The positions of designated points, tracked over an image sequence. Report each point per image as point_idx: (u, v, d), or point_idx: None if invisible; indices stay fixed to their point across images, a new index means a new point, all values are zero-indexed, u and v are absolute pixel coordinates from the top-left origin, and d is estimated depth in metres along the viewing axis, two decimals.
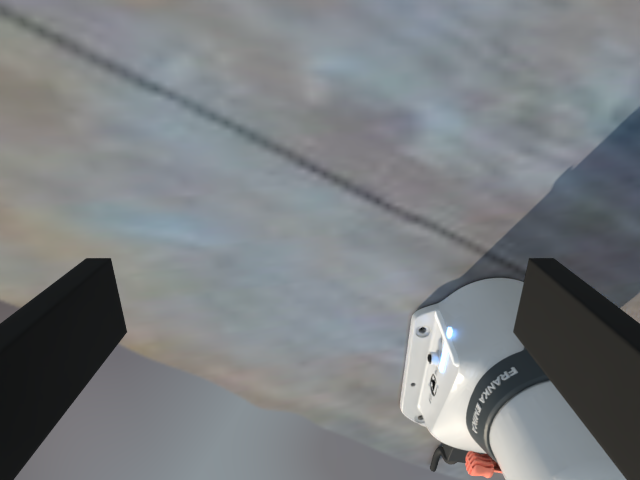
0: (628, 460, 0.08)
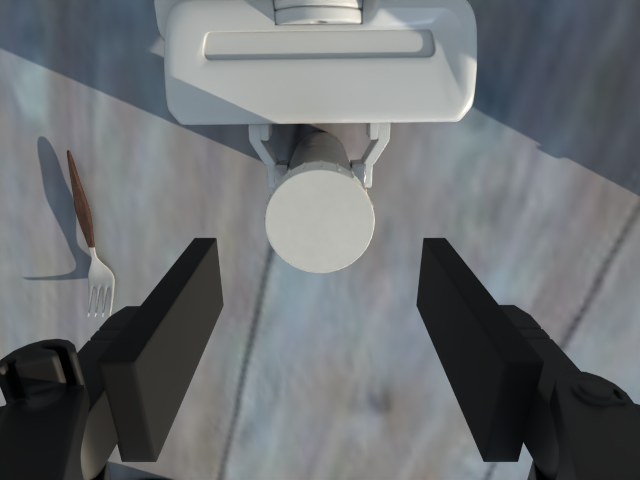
0: (464, 399, 0.10)
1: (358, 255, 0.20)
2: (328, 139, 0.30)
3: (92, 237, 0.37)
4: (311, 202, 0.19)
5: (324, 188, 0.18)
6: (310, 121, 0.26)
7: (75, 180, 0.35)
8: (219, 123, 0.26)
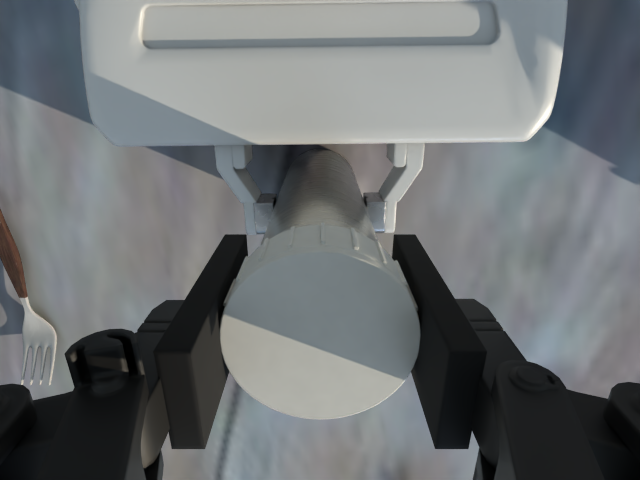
0: (422, 390, 0.10)
1: (389, 393, 0.11)
2: (332, 163, 0.22)
3: (23, 285, 0.28)
4: (304, 308, 0.10)
5: (328, 285, 0.10)
6: (306, 141, 0.17)
7: None
8: (170, 144, 0.18)
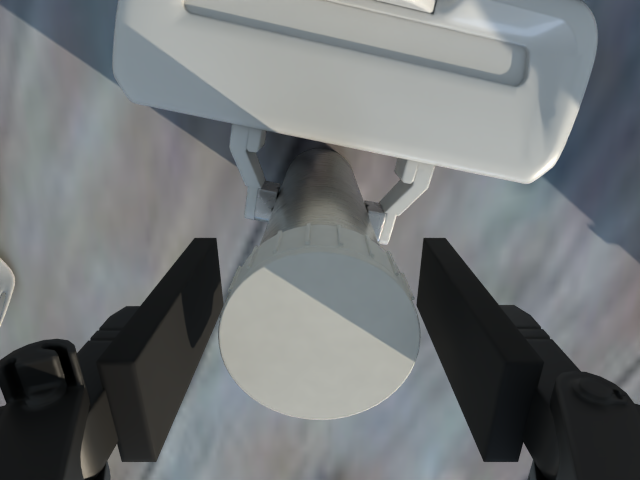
0: (465, 399, 0.10)
1: (413, 314, 0.10)
2: (339, 165, 0.22)
3: None
4: (275, 338, 0.10)
5: (262, 311, 0.10)
6: (324, 139, 0.18)
7: None
8: (188, 113, 0.17)
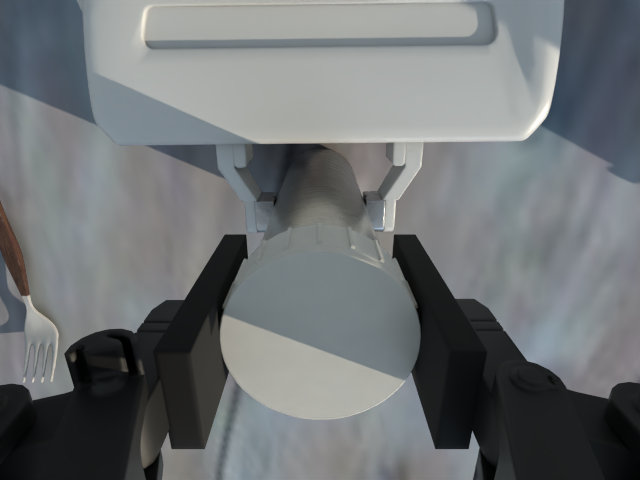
0: (423, 390, 0.10)
1: (405, 297, 0.10)
2: (332, 162, 0.22)
3: (25, 283, 0.29)
4: (276, 346, 0.10)
5: (256, 321, 0.10)
6: (306, 140, 0.18)
7: None
8: (172, 143, 0.18)
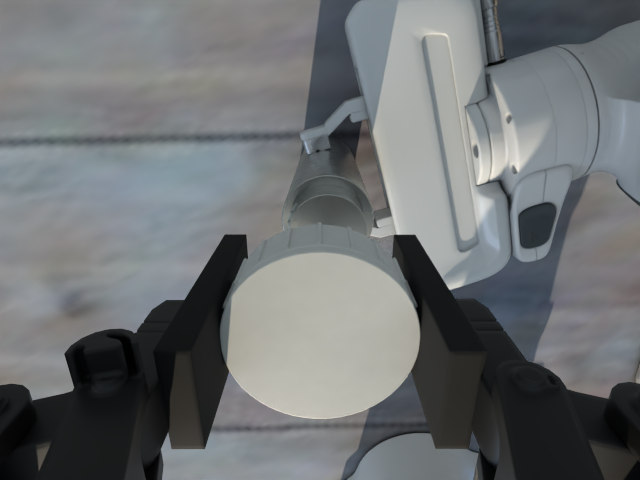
0: (423, 390, 0.10)
1: (405, 296, 0.10)
2: None
3: None
4: (276, 345, 0.10)
5: (256, 320, 0.10)
6: (382, 162, 0.26)
7: None
8: (358, 66, 0.24)
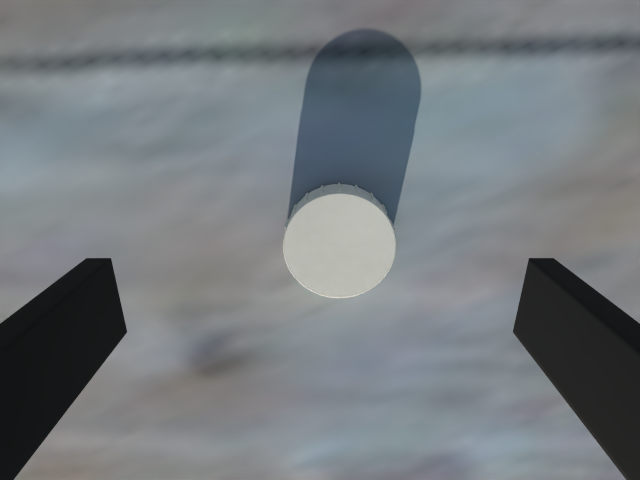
0: (628, 460, 0.08)
1: (386, 220, 0.18)
2: None
3: None
4: (314, 249, 0.18)
5: (304, 234, 0.18)
6: None
7: None
8: None
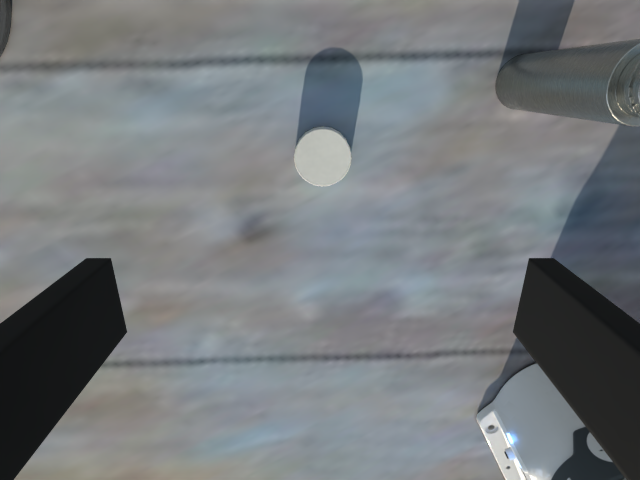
0: (629, 460, 0.08)
1: (346, 142, 0.36)
2: None
3: None
4: (310, 159, 0.37)
5: (305, 150, 0.36)
6: None
7: None
8: None
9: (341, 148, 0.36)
